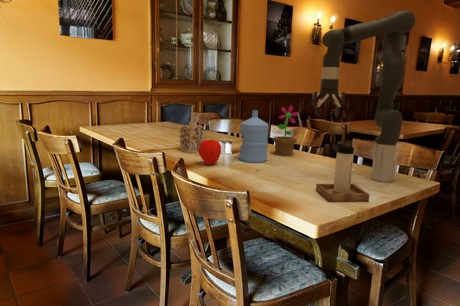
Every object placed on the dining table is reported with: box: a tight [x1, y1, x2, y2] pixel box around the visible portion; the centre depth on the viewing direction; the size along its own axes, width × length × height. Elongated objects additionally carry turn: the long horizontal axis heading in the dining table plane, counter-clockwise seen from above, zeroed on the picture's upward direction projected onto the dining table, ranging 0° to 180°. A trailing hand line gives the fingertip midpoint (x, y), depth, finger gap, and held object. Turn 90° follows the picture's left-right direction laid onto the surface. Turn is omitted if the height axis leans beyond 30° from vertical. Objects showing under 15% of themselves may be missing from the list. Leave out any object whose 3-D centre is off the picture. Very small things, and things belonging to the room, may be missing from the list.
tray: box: [315, 183, 370, 203], centre depth 142 cm, size 16×14×3 cm
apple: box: [198, 139, 222, 166], centre depth 188 cm, size 12×12×13 cm
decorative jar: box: [179, 121, 207, 154], centre depth 220 cm, size 12×12×18 cm
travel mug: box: [333, 143, 355, 194], centre depth 140 cm, size 6×7×20 cm
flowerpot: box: [272, 105, 299, 157], centre depth 217 cm, size 14×14×30 cm
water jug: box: [238, 109, 269, 164], centre depth 199 cm, size 16×16×28 cm
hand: (327, 115), depth 158 cm, fingers open, 8 cm apart
